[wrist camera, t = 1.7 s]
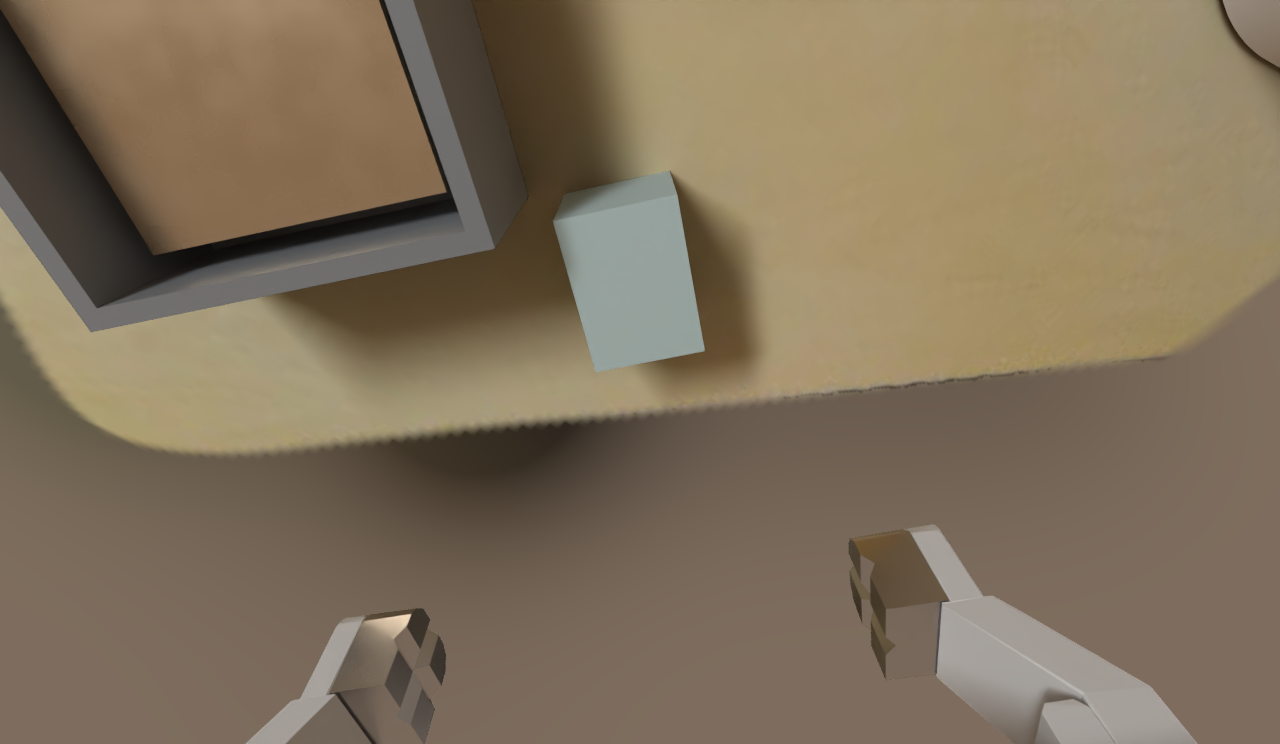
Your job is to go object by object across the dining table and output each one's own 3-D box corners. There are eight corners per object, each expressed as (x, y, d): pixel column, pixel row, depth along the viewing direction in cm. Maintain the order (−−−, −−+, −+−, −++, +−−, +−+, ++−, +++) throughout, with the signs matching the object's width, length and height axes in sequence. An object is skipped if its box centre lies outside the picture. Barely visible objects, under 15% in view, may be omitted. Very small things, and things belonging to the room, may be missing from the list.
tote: (397, -258, 20) (276, -416, 13) (528, 196, 28) (494, 248, 21) (-10, -144, 22) (-317, -233, 15) (220, 262, 29) (91, 332, 22)
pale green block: (669, 170, 28) (677, 194, 23) (693, 307, 31) (704, 351, 26) (564, 193, 28) (553, 221, 24) (600, 326, 31) (595, 372, 27)
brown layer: (358, -186, 20) (293, -240, 17) (473, 169, 26) (446, 192, 22) (44, -100, 21) (-87, -132, 18) (222, 224, 27) (153, 255, 23)
